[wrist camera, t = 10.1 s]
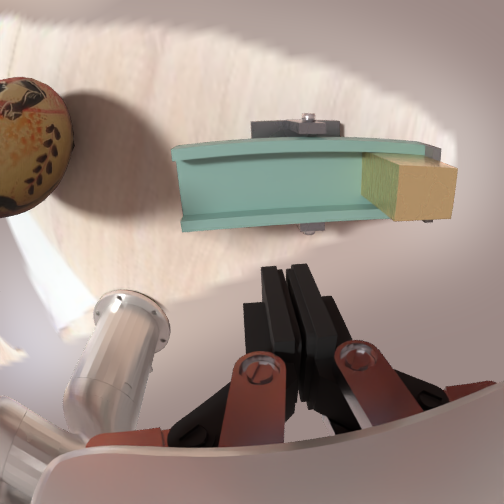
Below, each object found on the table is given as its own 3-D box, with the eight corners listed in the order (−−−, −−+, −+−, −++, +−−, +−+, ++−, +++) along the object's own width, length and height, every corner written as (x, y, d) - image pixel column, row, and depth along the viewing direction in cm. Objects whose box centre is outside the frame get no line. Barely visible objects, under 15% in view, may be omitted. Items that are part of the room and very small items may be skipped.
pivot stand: (335, 207, 36) (359, 235, 29) (255, 212, 36) (260, 242, 29) (336, 113, 31) (365, 116, 24) (250, 113, 31) (253, 114, 23)
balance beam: (412, 207, 30) (432, 222, 26) (186, 221, 29) (179, 238, 25) (417, 141, 26) (441, 148, 22) (176, 145, 26) (167, 152, 22)
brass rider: (411, 193, 28) (450, 218, 21) (360, 194, 27) (394, 221, 21) (414, 152, 26) (457, 168, 19) (362, 149, 25) (399, 165, 19)
